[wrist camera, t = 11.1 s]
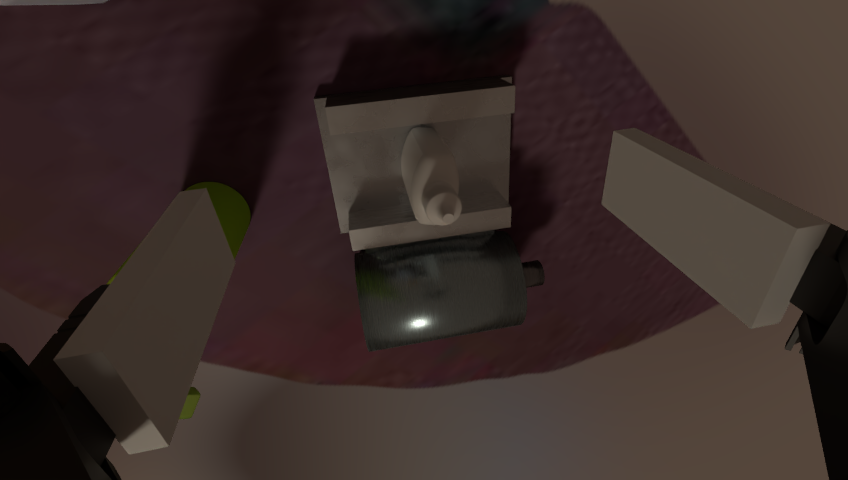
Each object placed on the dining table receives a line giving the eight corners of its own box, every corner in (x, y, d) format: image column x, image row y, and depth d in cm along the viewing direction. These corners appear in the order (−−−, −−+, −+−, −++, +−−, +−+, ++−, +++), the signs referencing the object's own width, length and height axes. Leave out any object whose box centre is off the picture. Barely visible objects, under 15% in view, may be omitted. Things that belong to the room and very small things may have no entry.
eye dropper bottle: (381, 172, 36) (394, 237, 26) (418, 116, 34) (447, 163, 24) (422, 196, 38) (449, 267, 28) (459, 145, 36) (503, 199, 26)
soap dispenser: (250, 254, 39) (178, 451, 22) (170, 228, 37) (18, 427, 20) (271, 201, 37) (209, 374, 20) (187, 170, 35) (33, 337, 17)
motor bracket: (314, 96, 33) (305, 125, 26) (530, 72, 35) (583, 92, 27) (357, 310, 44) (360, 375, 37) (520, 283, 46) (555, 339, 39)
